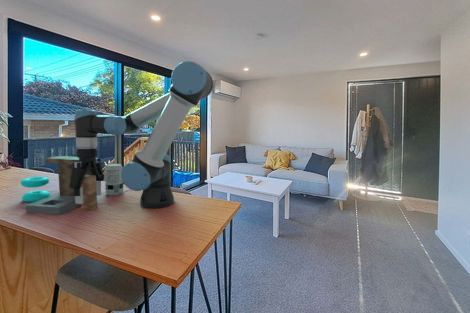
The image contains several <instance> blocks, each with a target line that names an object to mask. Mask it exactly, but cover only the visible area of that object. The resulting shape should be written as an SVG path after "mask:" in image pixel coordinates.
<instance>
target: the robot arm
mask: <svg viewBox="0 0 470 313" xmlns="http://www.w3.org/2000/svg"><path fill="white" fill-rule="evenodd" d="M170 79H171V84H170V87H169V89H168V92H167V93H166V94H164V95H163V96H160V97H158V98H156V99H155V100H152V101H151V102H149V103H147V104H144V106H141V107H140V108H138V109H136V110H134V111H131V112H130V113H128V114H126V115H125V116H120V115H98V114H97V111H96V110H94V109H93V110H92V109H76V110H75V111H74V119H73V120H74V127H75V128H74V129H75V146H76V150H75V151H76V152H75V157H78V158H79V162H73V170H72V175H71V180H70V185H69V187H70V188H74V195H75V203H76V204H83V188H81V185H82V182H83V180H84V177H85V174H86V173H87V172H88V170H90V171H91V173H92V175H96V193H97V197H98V196H102V181H104V180H105V172H104V171H103V167H102V162H101V158H99V157H98V156H99V154H98V152H99V151H98V135H111V136H118V135H119V136H120V135H123V134H124V135H126V134H135V133H138V131H139V130H140V129H141V128H142V127H145V126H146V125H148V124H151V123H152V122H155V121H156V123H155V125H154V127H153V128H152V131H151V132H150V134H149V136H148V138H147V140H146V142H145V144H144V146H143V147H142V149H141V150H138V151H136V152H135V154H134V156H133V158H132V160H131V161H129V162H127V163H126V164H124V165H123V166H122V167H123V168H122V171H121V178H122V180H123V185H124V186H125V187H126V188H128V189H129V190H131V191H134V192H141V191H142V193H141V195H140V200H139V204H140V206H141V207H144V208H147V209H148V208H149V209H160V208H166V207H169V206H172V205H173V204H174V203H175V197H174V193H173V190H172V187H171V164H172V163H171V162H172V161H171V156H170V155H168V154H167V153H168V151H169V149H170V147H171V144H172V143H173V141H174V139H176V138H175V137H176V136H177V134H178V132H179V130H180V129H181V127H182V125H183V122H184V121H185V119H186V117H187V116H188V114H189V112H190V110H191V109H192V108H195V107H197V106H198V104H199V103H200V101H201V100H203V99H206V98H207V97H208V96H209V95H211V93H212V91H213V89H214V79H213V77H212V76H211V74H210V73H209V72H208V71H207V70H205V68H204V67H203V66H201V65H200V64H198V63H196V62H194V61H189V60H186V61H181V62H180V63H178V64H177V65H176V66H175V67H174V68H173V69H172V72H171V78H170ZM81 169H82V170H81ZM73 184H74V185H73Z"/></svg>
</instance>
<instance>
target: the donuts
mask: <svg viewBox="0 0 470 313" xmlns="http://www.w3.org/2000/svg"><path fill="white" fill-rule="evenodd" d="M49 183H50V178H48V177H47V176H32V177H31V176H29V177H26V178H24V179H22V180H21V181H20V185H21V186H22V187H24V188H29V189H30V188H41V187H44V186H46V185H47V184H49ZM48 197H51V193H50V192H49V191H48V190H41V189H40V190H31V191H28V192H26V193H24V194H23V195H22V197H21V200H22V201H23V202H25V203H34V202H36V201H39V200H42V199H45V198H48Z"/></svg>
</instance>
